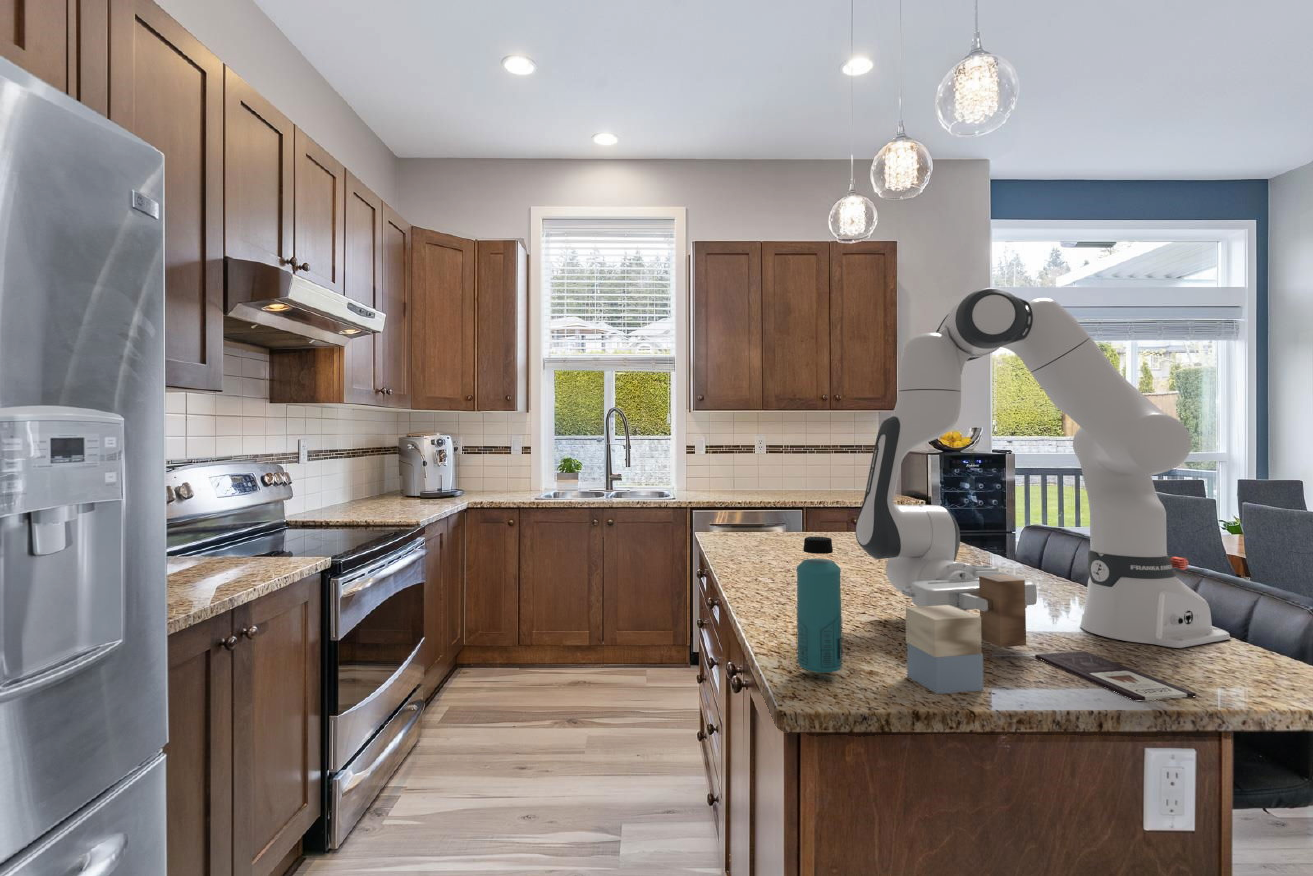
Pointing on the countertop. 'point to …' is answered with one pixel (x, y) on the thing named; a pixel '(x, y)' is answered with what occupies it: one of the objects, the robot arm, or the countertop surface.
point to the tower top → (943, 630)
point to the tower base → (945, 671)
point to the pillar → (1003, 611)
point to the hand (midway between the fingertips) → (1006, 604)
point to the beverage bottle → (819, 610)
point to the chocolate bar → (1115, 676)
